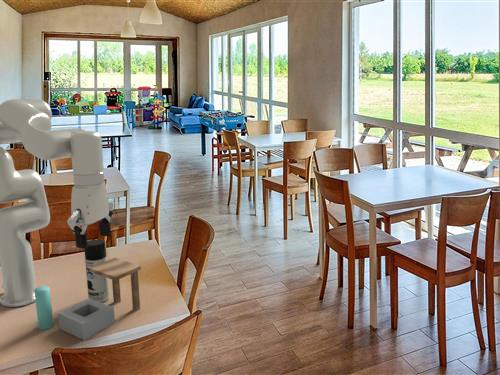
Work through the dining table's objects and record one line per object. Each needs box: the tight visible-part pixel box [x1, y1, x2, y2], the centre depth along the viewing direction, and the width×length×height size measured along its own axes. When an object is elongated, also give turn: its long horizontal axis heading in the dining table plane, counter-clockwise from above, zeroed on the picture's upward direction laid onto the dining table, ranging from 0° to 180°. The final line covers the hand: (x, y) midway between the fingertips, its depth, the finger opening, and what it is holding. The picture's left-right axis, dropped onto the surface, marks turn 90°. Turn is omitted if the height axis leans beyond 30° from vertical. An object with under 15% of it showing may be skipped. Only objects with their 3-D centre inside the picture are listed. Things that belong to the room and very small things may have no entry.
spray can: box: [84, 238, 110, 304], centre depth 148 cm, size 7×7×20 cm
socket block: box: [57, 298, 116, 341], centre depth 133 cm, size 11×11×5 cm
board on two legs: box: [89, 257, 142, 311], centre depth 141 cm, size 12×10×15 cm
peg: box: [34, 285, 54, 331], centre depth 132 cm, size 4×4×12 cm
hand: (94, 241), depth 121 cm, fingers open, 9 cm apart
